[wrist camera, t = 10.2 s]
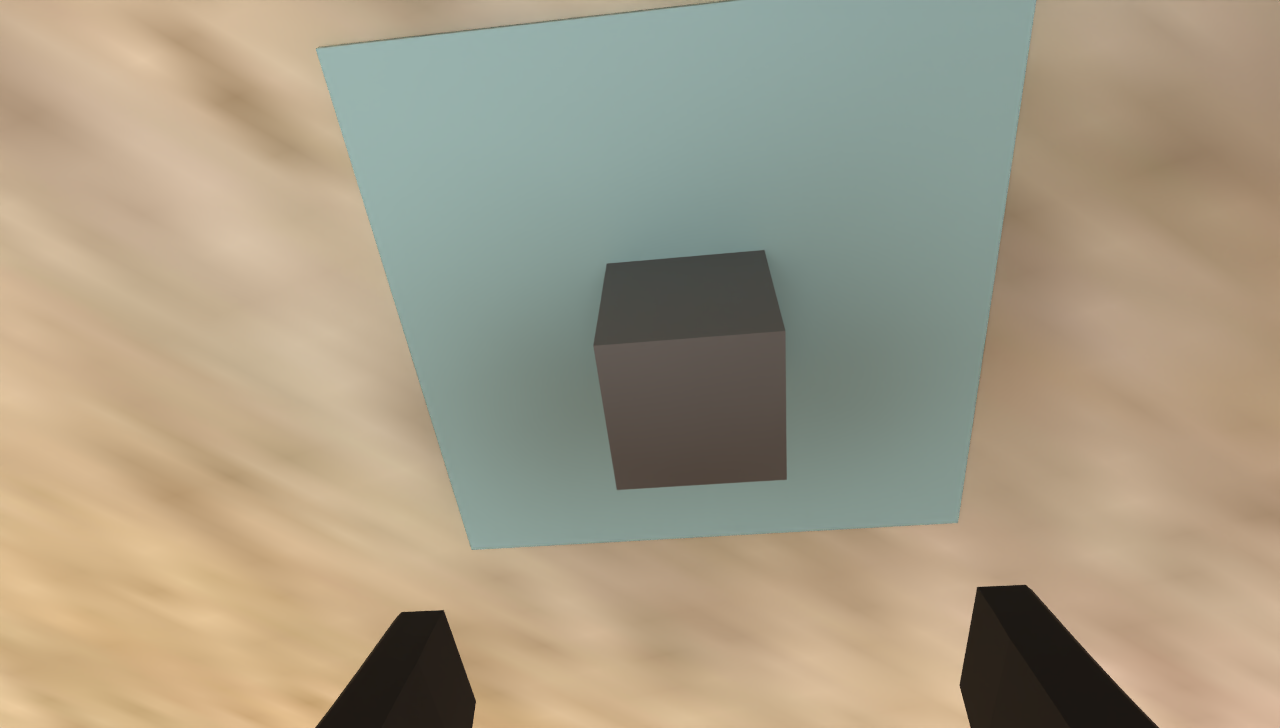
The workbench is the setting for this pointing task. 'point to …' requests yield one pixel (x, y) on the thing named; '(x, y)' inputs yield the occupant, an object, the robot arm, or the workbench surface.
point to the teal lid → (694, 257)
